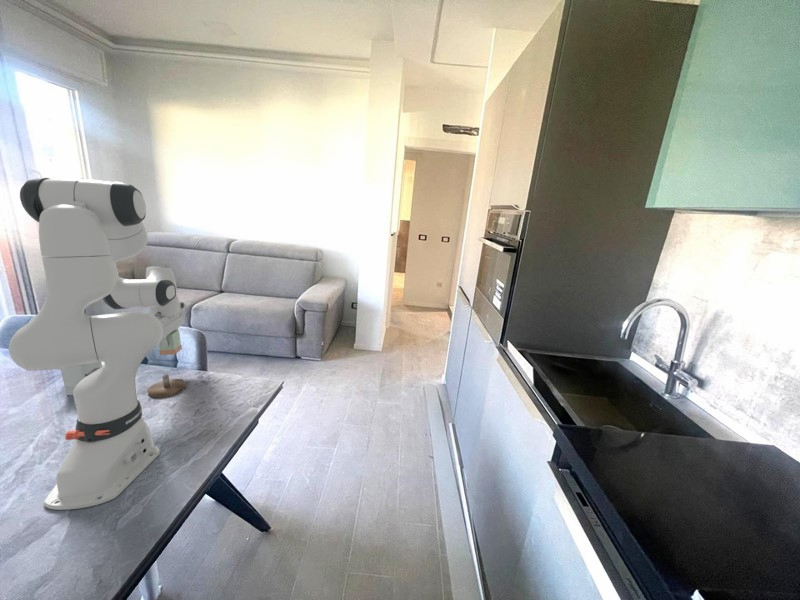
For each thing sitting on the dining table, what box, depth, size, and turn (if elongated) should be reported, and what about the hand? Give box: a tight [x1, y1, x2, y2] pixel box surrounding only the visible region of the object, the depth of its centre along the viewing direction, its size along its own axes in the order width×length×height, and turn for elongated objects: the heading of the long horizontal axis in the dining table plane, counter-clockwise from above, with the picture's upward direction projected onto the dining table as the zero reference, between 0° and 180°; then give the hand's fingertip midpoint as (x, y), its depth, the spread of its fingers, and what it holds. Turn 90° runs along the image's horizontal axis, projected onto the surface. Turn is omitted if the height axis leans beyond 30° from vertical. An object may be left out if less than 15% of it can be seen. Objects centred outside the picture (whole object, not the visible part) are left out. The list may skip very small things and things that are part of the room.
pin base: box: [147, 373, 186, 399], centre depth 114 cm, size 11×11×6 cm
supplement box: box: [60, 362, 103, 396], centre depth 110 cm, size 7×7×13 cm
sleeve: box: [158, 329, 183, 356], centre depth 122 cm, size 5×5×8 cm
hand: (169, 343), depth 122 cm, fingers closed on sleeve, 5 cm apart
